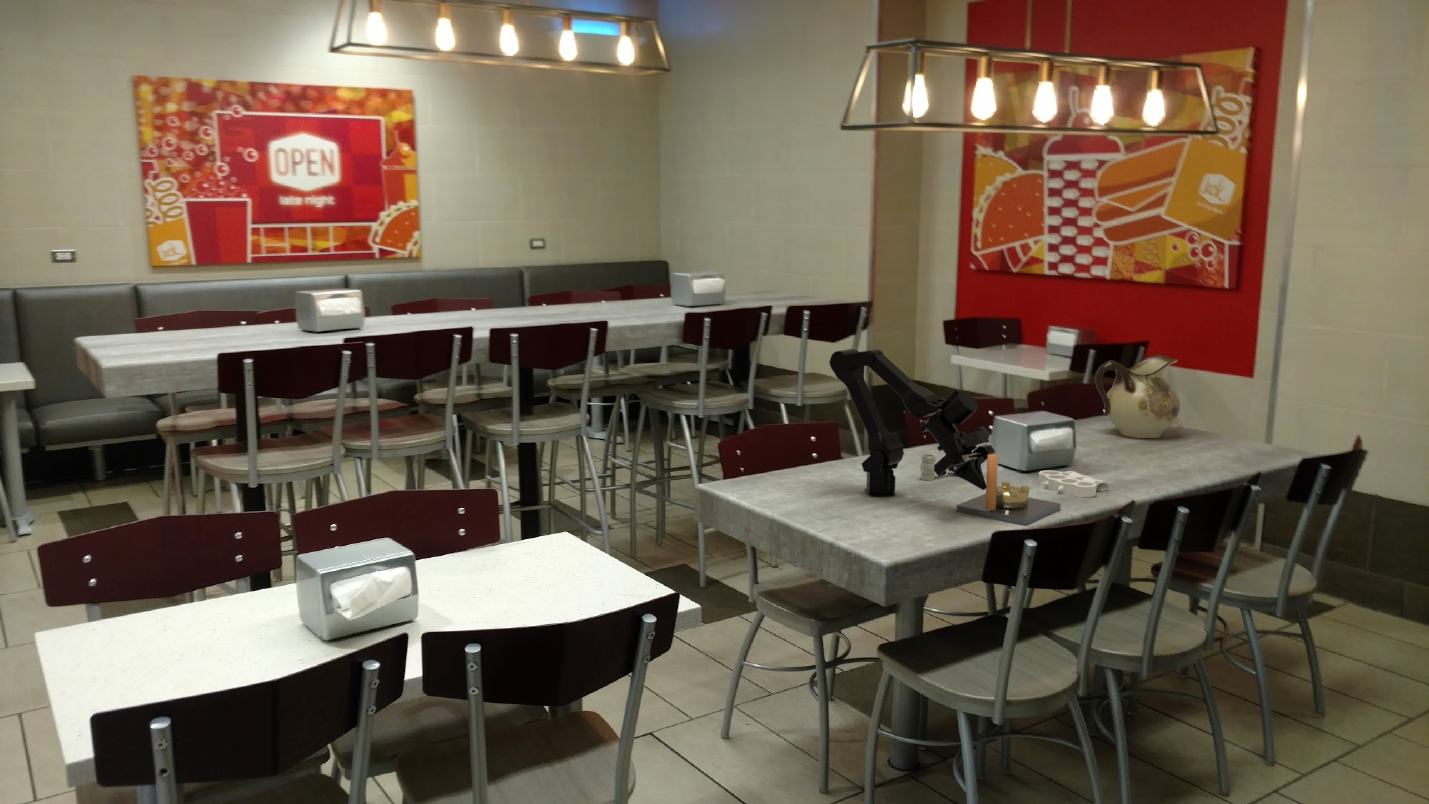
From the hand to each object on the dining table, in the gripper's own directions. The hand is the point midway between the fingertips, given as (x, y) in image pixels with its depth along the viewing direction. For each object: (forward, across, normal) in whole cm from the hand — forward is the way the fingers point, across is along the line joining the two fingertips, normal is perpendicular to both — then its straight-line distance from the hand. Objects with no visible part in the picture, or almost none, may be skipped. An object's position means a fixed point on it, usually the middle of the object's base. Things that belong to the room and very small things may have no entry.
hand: (985, 488), depth 258 cm
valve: (-16, +24, +25) cm, 38 cm away
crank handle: (+4, +6, +2) cm, 8 cm away
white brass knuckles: (+6, +38, +3) cm, 39 cm away
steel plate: (+6, +9, +4) cm, 11 cm away
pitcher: (-7, +114, +13) cm, 115 cm away
